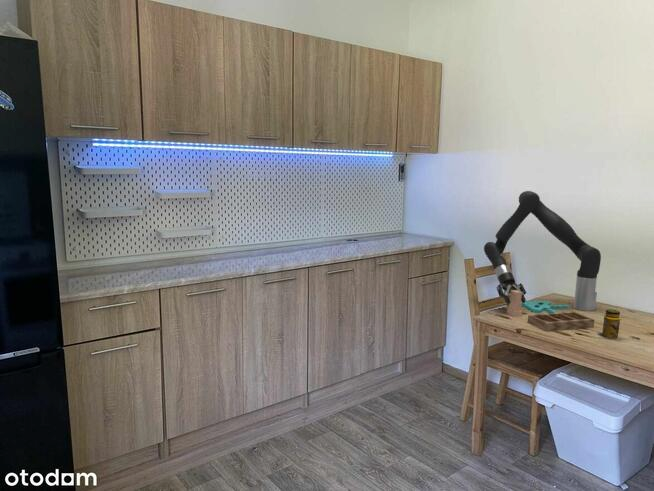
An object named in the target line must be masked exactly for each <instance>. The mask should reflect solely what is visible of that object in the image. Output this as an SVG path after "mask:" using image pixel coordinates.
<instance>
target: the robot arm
mask: <svg viewBox="0 0 654 491" xmlns="http://www.w3.org/2000/svg"><path fill="white" fill-rule="evenodd" d="M518 203H519V204H518V206H517V208H516V209H515V211H514V212H513V213H512V215H511V216H509V218H508V219H507V220H506V221H505V222H503V224H502V225H501V227H500V228H499V230H498V231H497V232H496V234H495V238H496V240H495V242H494V241H487V242H486V243H485V244H484V247H483V250H484V253H485V256H486V257H487V259H488V260H489V262H490V263H491V265H492V267H493V268H492V269H494V272H495V275H496V278H497V281H498V283H499V284H498V285H496V287H495V289H496V291H497V293H498V296H499V298H503V299H504V301H505V303H506V304H507V305H510V303H511V301H510V296H509V295H508V294H510V293H511V290H517V291H520V292H522V296H521V304H522V303H525V301H527V299H526V298H525V295H526V294H527V291H526V289H525V287H524V285H523V284H522V283H519V284H517V283H516V279H515V277H514V275H513V272H512V270H511V268H510V267H509V265H508V263H507V261H506V259H505V257H504V256H502V255H503V253H504V251H505V250H506V247H507V244H508V242H509V240H510V239H511V238H512V237H513V235H514V234H515V232H516V231H517V230H518V228H519V227H520V226H521V224H522V223H524V222H523V221H525V220H526V218H527V217H528V216H529V215H531V214H532V215H533V216H534V217H536V218H537V220H538V221H539V223H541V224H542V226H543V227H544V228H545V229H546V230H547V231H548V232H549V233H551V235H552V236H554V238H556V239H557V240H558V241H560V242H561V243H562V244H564V245H566V247H568V249H569V250H571V252H572V253H573V254H574V255H575V257H576V258H577V259H578V260H579V261H580V265H579V269H578V270H577V272H576V282H575V291H574V299H573V301H574V302H573V308H574V309H576V310H579V311H589V312H590V311H595V310H596V306H597V294H598V293H597V292H596V288H597V280H598V274H599V272H600V266H601V262H602V261H601V259H602V256H601V252H600V250H599V249H598V248H596V247H594V246H591V245H590V244H589V243H587V242H586V241H584V240H583V239H582V238H580V237H579V236H578V234H577V233H576V231H575V230H574V228H572V226H571V225H570V224H569V222H567V221H566V220H565V219H564V218H563V217H562V216H560V215H559V214H558V213H556V212H555V211H553V210H551V209H550V208H549V207H547V206H546V205H545V203H544V202H542V201H541V198H540V195H538V193H536V192H534V191H532V190H525V191H523V192H521V193H520V194H519V196H518Z"/></svg>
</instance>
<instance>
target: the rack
mask: <svg viewBox="0 0 654 491" xmlns="http://www.w3.org/2000/svg"><path fill="white" fill-rule="evenodd" d="M527 323H528V324H530V325H532V326H534V327H536V328H539V329H541V330H543V331H545V332H555V331H565V330H567V331H568V330H577V329H589V328H594V325H595V319H594V318H592V317H589V316H586V315H583V314H580V313H579V312H576V311H564V312H562V311H561V312H558V313H547V312H546V313H540V314H538V313H533V314H528V316H527Z"/></svg>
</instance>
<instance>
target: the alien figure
mask: <svg viewBox="0 0 654 491" xmlns="http://www.w3.org/2000/svg"><path fill="white" fill-rule="evenodd" d="M551 304H552V302H551V301H546V300H541V301H540V300H535V301H534V300H530V301H527V300H526V301H525V303H522V302H521V308H524V309H525V308H526V310H527V311H529V310H530V313H533V312H534V313H533V314H538V313H539V314H542V313H543V312H546V314H547V313H559V312H557V310H569V307H570V305H568V304H563V305H562V304H558V305H557V304H552V305H551Z"/></svg>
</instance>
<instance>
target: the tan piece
mask: <svg viewBox="0 0 654 491" xmlns="http://www.w3.org/2000/svg"><path fill="white" fill-rule="evenodd" d="M521 296H522V292H520V291H517V290H511V293H509V299H510V301H511V303H510V304H509V306H508V307H506V313H507V314H508V315H509V316H512V317H521V316H522V317H523V310H521V308H522V302H521Z"/></svg>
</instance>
